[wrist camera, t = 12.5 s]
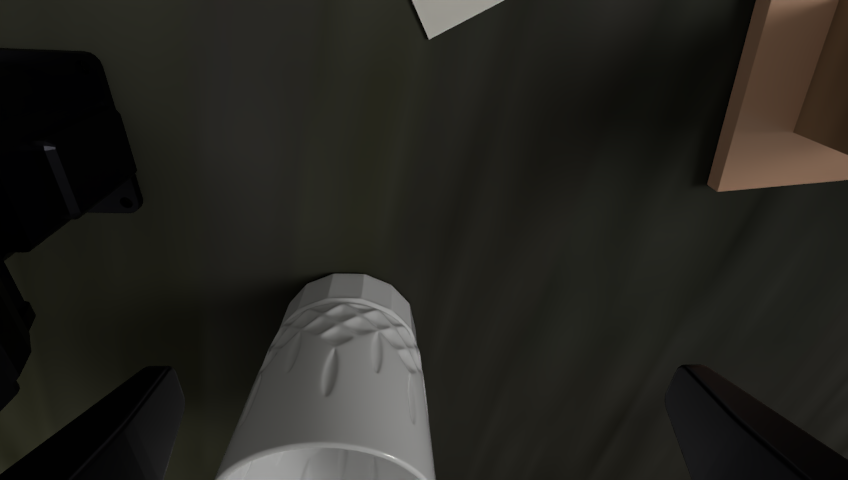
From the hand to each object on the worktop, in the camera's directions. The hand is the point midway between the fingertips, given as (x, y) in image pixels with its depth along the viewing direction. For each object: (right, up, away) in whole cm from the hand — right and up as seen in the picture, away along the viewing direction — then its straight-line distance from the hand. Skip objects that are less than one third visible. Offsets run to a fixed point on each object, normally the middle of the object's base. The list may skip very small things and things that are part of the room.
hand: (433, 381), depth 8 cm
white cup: (-4, -2, +16) cm, 17 cm away
